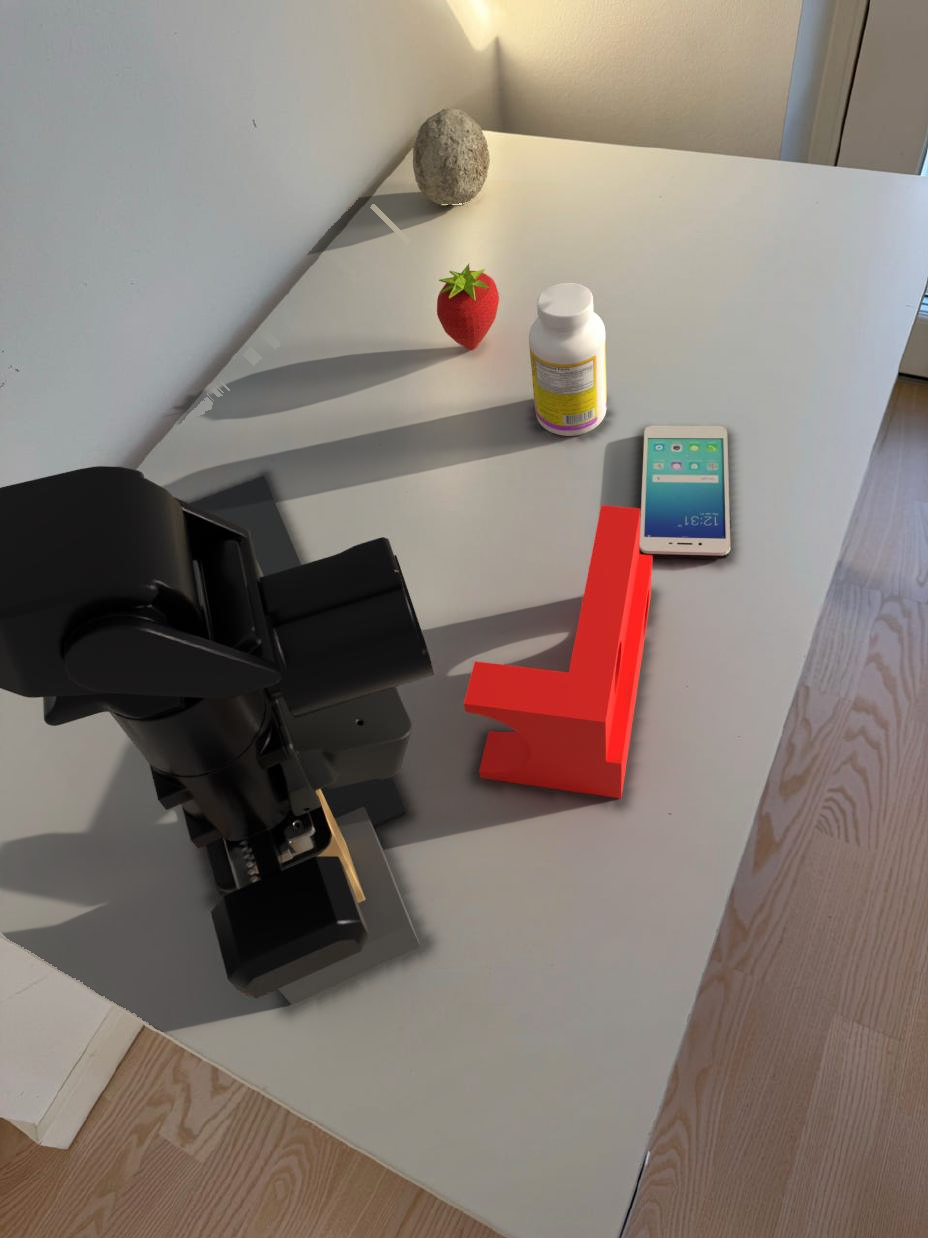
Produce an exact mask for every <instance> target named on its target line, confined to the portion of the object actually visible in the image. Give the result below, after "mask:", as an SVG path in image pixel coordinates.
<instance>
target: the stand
mask: <svg viewBox="0 0 928 1238" xmlns="http://www.w3.org/2000/svg"><path fill="white" fill-rule="evenodd" d="M335 821H336V823H337V826H338V828H339V830H340V832H341V834H342V836H343V838H344V840H345V843H346V845H347V848H348V851H349V854H350V857H351V860H352V862H353V865H354V868H355V871H356V874H357V877H358V880H359V883H360V885H361V888H362V891H363V894H364V897H365V900H364V901H362V902H360V903H358V904H359V907H360V910H361V913H362V916H363V918H364V921H365V924H366V927H367V930H368V932H369V937H368V939H367V941H366V944H365V946H364V948H363V950H362V951H361V952H359V953H357V954H355V955H353V956H350V957H348V958H346V959H344V960H341V961H339V962H337V963H335V964H333V965H330V966H328V967H326V968H324V969H321V970H319V971H317V972H315V973H312V974H310V975H308V976H306V977H304V978H301V979H299V980H297V981H295V982H292V983H290V984H288V985H286V986H283V987H281V988H279V989H277V990H278V991H279V993H281V995H282V996H283V997H284V998H285V999H286V1000H287V1001H288V1002H289V1003H290V1005H295V1004H296V1003H299V1002H301V1001H303V1000H305V999H308V998H310V997H312V996H314V995H316V994H319V993H321V992H323V991H325V990H328V989H329V988H331V987H333V986H336V985H338V984H340V983H342V982H345V981H347V980H350V979H351V978H353V977H356V976H358V975H361V974H363V973H365V972H367V971H369V970H372V969H374V968H375V967H378V966H380V965H382V964H384V963H386V962H388V961H390V960H393V959H396V958H397V957H399V956H401V955H404V954H406V953H408V952H410V951H412V950H415V949H417V948H420V947H421V943H420V940H419V938H418V935H417V933H416V930H415V928H414V925H413V923H412V920H411V917H410V915H409V912H408V910H407V908H406V905H405V902H404V900H403V897H402V895H401V893H400V890H399V887H398V885H397V882H396V879H395V877H394V875H393V872H392V869H391V867H390V864H389V862H388V858H387V857H386V854H385V852H384V848H383V847H382V843H381V842H380V839H379V837H378V834H377V831H376V828H375V827H373V825H372V822H371V820H370V818H369V816H368V814H367V811H366V809H365V807H362V808H359V809H357V810H355V811H352V812H350V813H348V814H345V815H343V816H341V817H338V818H336V819H335Z"/></svg>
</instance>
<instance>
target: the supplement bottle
mask: <svg viewBox="0 0 928 1238" xmlns="http://www.w3.org/2000/svg"><path fill="white" fill-rule="evenodd" d="M536 307H537V316H538V317H536V319H535V320H534V321H533V323H532V325H530V329H529V332H528V347H529V358H530V369H531V379H532V388H533V389H532V390H533V400H534V412H535V415H536V419H537V421H538V423H539V424H540V425H541V427H542V428H543V429H544V430H546V431H548V432H549V433H552V434H555V435H559V436H564V437H565V436H566V437H574V436H575V437H576V436H580V435H583V434H586V433H588V432H590V431H592V430H594V429H595V428H597V427H598V426H599V425H600V424H601V423H602V422H603V420H604V418H605V416H606V413H607V406H608V405H607V404H608V403H607V401H608V399H607V357H606V356H607V354H606V353H607V351H606V350H607V349H606V347H607V346H606V343H607V342H606V341H607V340H606V328H605V324H604V322H603V320H602V319H601V317H600V316H599V315H598V314H597V313H596V312H595V311H594V297H593V294H592V292H591V290H590V289H589V288H587V287H586V286H584V285H582V284H580V283H579V284H578V283H575V282H574V283H573V282H563V283H557V284H554V285H551V286H548V287H547V288H545V289H544V290H543V291H542V292H541V293H540V294H539V295H538V297H537V300H536Z"/></svg>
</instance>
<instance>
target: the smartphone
mask: <svg viewBox="0 0 928 1238" xmlns="http://www.w3.org/2000/svg"><path fill="white" fill-rule="evenodd" d="M728 444H729V443H728V429H727V428H726V427H725V426H722V425H648V426H647V427H645V428H644V431H643V457H642V478H641V503H640V506H639V508H641V509H640V542H639V554H643V555H653V558H665V559H667V558H668V559H669V558H670V559H702V560H703V559H705V560H706V559H707V560H711V559H712V560H724V559H726V558H728V557H729V556H730V552H731V529H732V522H731V508H730V484H729V483H730V482H729V481H730V479H729V448H728V447H729V445H728Z"/></svg>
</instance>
